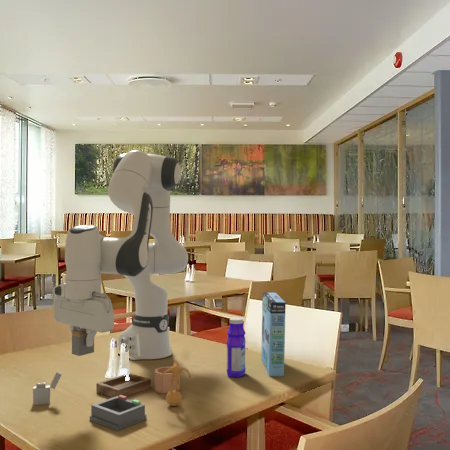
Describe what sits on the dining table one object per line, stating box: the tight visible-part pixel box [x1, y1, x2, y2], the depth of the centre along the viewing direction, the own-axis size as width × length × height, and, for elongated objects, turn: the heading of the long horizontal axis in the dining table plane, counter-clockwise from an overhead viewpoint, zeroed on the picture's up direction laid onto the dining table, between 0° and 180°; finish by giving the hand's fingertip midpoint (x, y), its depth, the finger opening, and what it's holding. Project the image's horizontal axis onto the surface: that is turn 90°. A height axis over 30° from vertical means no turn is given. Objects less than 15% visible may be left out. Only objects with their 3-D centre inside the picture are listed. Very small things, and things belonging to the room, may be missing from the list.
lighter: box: [32, 370, 63, 406], centre depth 137 cm, size 7×2×8 cm, turn 105°
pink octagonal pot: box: [154, 366, 181, 395], centre depth 148 cm, size 7×7×5 cm
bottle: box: [226, 316, 247, 378], centre depth 162 cm, size 7×6×17 cm
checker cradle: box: [89, 395, 147, 432], centre depth 126 cm, size 10×9×4 cm
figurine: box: [159, 360, 192, 407], centre depth 134 cm, size 8×6×12 cm
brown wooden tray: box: [95, 372, 152, 398], centre depth 147 cm, size 9×12×2 cm
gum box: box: [260, 292, 287, 378], centre depth 169 cm, size 20×5×23 cm, turn 3°
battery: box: [71, 328, 95, 357], centre depth 132 cm, size 3×4×6 cm, turn 142°
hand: (83, 344), depth 132 cm, fingers closed on battery, 3 cm apart
